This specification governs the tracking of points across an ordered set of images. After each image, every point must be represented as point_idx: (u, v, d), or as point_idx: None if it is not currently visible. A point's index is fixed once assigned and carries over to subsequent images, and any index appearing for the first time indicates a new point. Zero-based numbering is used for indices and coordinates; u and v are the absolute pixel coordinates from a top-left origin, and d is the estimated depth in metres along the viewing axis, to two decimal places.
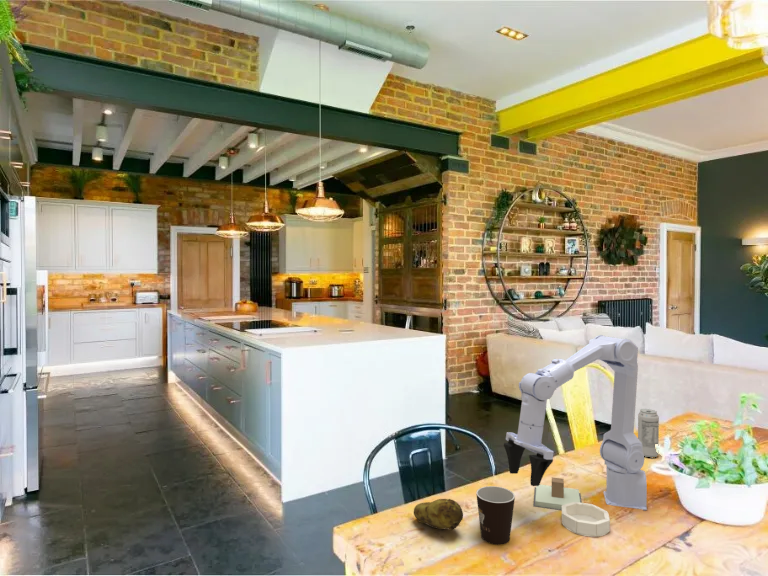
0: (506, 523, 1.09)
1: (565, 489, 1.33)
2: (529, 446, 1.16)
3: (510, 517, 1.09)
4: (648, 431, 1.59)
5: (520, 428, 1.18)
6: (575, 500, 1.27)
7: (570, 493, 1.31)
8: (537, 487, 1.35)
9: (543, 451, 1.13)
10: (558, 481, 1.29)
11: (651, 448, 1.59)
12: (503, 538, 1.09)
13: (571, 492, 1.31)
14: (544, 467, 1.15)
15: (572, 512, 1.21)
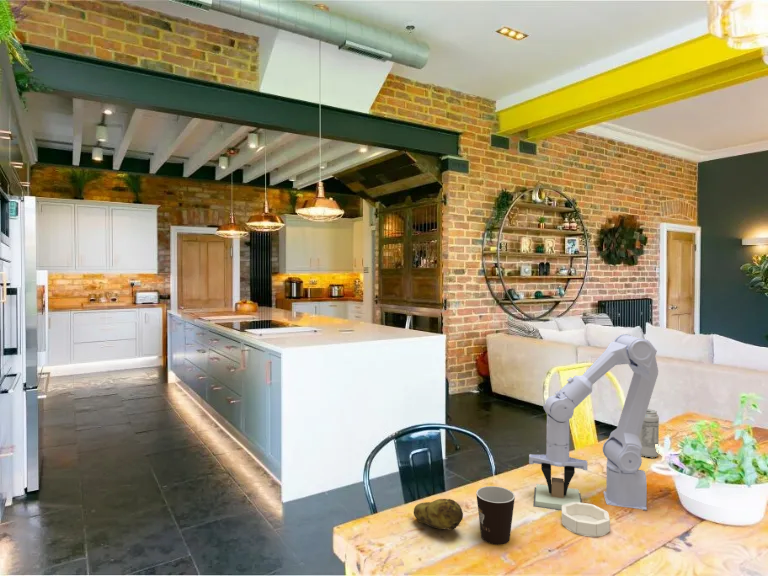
0: (506, 523, 1.09)
1: None
2: (569, 464, 1.27)
3: (510, 517, 1.09)
4: (648, 431, 1.59)
5: (556, 450, 1.27)
6: (575, 500, 1.27)
7: (570, 493, 1.31)
8: (537, 487, 1.35)
9: (583, 464, 1.27)
10: (558, 481, 1.29)
11: (651, 448, 1.59)
12: (503, 538, 1.09)
13: (571, 492, 1.31)
14: None
15: (572, 512, 1.21)
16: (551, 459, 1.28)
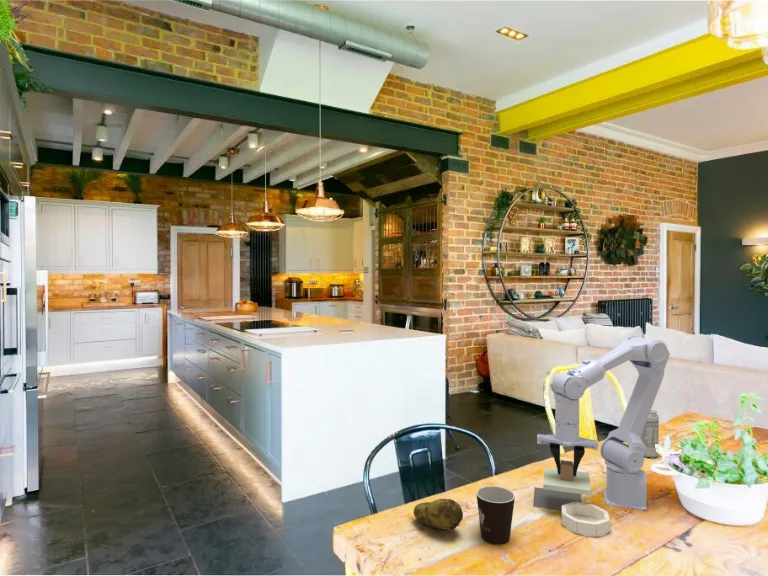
0: (506, 523, 1.09)
1: None
2: (578, 443, 1.22)
3: (510, 517, 1.09)
4: (648, 431, 1.59)
5: (565, 430, 1.22)
6: (585, 483, 1.22)
7: (580, 476, 1.26)
8: (545, 470, 1.30)
9: (593, 444, 1.22)
10: (567, 464, 1.24)
11: (651, 448, 1.59)
12: (503, 538, 1.09)
13: (581, 475, 1.27)
14: None
15: (572, 512, 1.21)
16: (560, 439, 1.23)
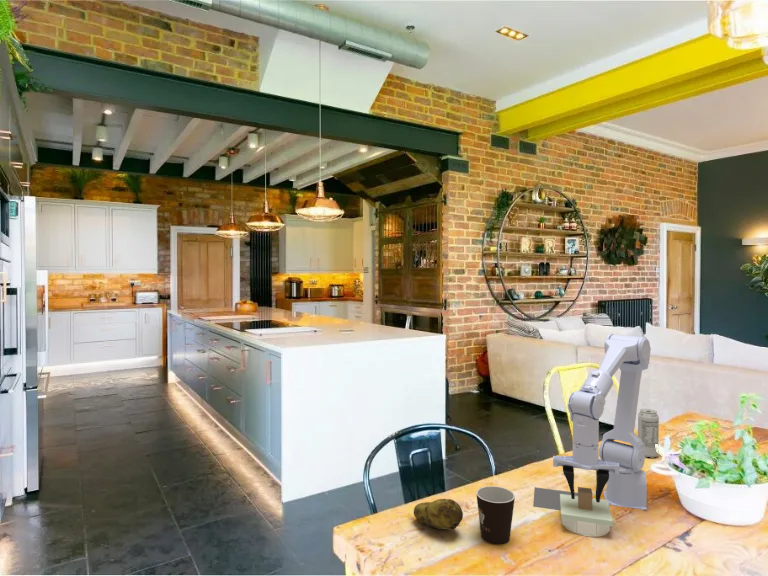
0: (506, 523, 1.09)
1: (592, 500, 1.20)
2: (598, 467, 1.13)
3: (510, 517, 1.09)
4: (648, 431, 1.59)
5: (584, 452, 1.14)
6: (605, 513, 1.14)
7: (599, 505, 1.18)
8: (561, 497, 1.22)
9: (614, 467, 1.13)
10: (586, 491, 1.16)
11: (651, 448, 1.59)
12: (503, 538, 1.09)
13: (600, 503, 1.19)
14: None
15: None
16: (578, 461, 1.15)
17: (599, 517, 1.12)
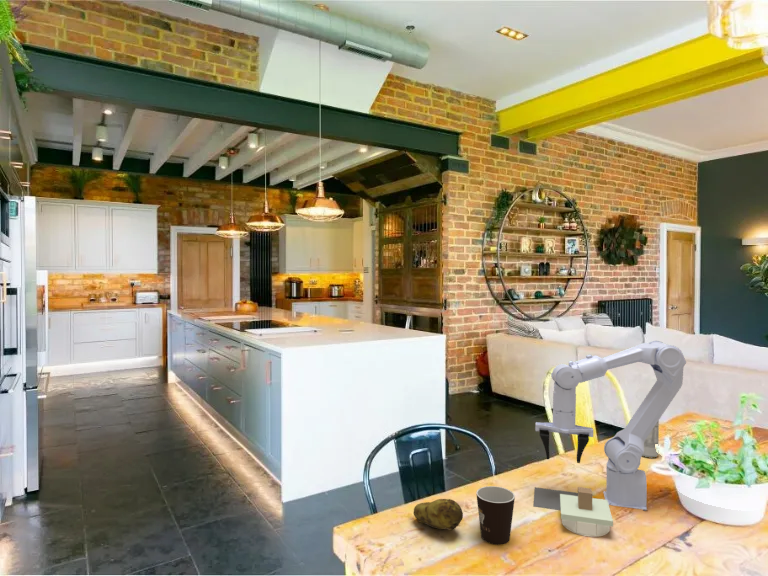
0: (506, 523, 1.09)
1: (592, 500, 1.20)
2: (575, 430, 1.28)
3: (510, 517, 1.09)
4: None
5: (562, 417, 1.29)
6: (605, 513, 1.14)
7: (599, 505, 1.18)
8: (561, 497, 1.22)
9: (588, 431, 1.28)
10: (586, 491, 1.16)
11: (651, 448, 1.59)
12: (503, 538, 1.09)
13: (600, 503, 1.19)
14: None
15: None
16: (557, 426, 1.29)
17: (599, 517, 1.12)
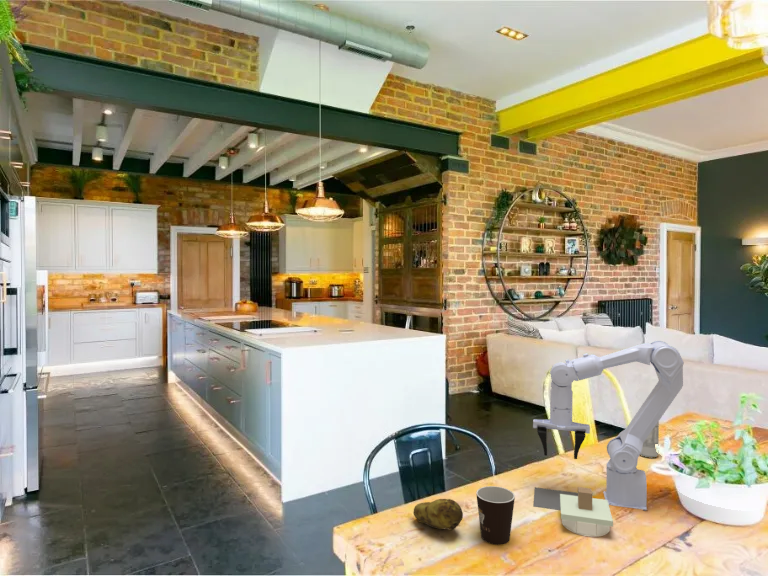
0: (506, 523, 1.09)
1: (592, 500, 1.20)
2: (572, 427, 1.31)
3: (510, 517, 1.09)
4: None
5: (559, 414, 1.31)
6: (605, 513, 1.14)
7: (599, 505, 1.18)
8: (561, 497, 1.22)
9: (585, 427, 1.31)
10: (586, 491, 1.16)
11: (651, 448, 1.59)
12: (503, 538, 1.09)
13: (600, 503, 1.19)
14: None
15: None
16: (555, 423, 1.32)
17: (599, 517, 1.12)
